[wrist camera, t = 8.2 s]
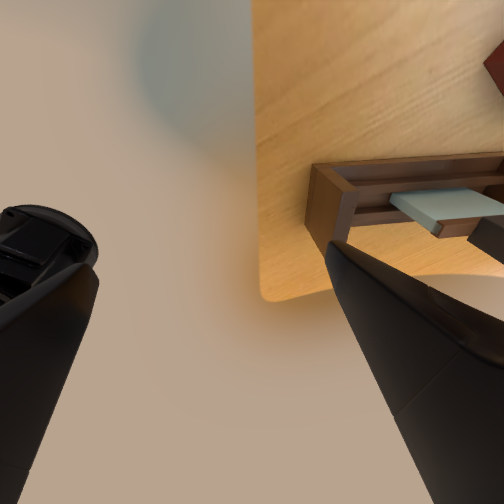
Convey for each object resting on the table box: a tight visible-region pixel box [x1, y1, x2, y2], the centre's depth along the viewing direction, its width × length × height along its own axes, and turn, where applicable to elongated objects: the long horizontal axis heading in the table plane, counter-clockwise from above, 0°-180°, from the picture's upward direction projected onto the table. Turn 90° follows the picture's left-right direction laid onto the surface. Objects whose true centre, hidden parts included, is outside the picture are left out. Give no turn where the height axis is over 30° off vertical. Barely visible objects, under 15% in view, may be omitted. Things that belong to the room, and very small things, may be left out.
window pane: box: [389, 187, 504, 264], centre depth 17 cm, size 7×2×10 cm, turn 92°
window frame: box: [304, 152, 504, 259], centre depth 20 cm, size 18×6×6 cm, turn 92°
